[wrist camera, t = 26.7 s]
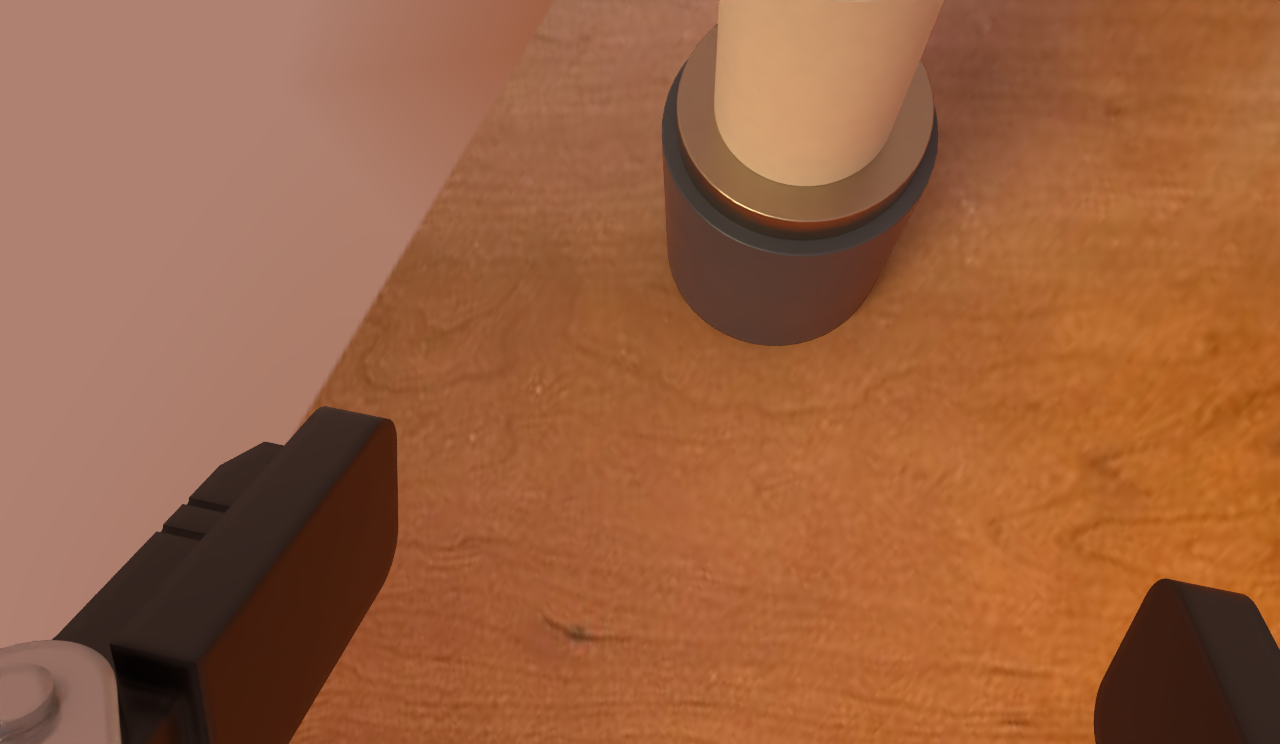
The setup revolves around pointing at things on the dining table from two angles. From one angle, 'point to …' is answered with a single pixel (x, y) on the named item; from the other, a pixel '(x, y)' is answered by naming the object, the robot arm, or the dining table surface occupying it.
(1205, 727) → the robot arm
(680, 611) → the dining table surface
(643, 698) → the dining table surface
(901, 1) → the cream bottle
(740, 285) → the slate jar
